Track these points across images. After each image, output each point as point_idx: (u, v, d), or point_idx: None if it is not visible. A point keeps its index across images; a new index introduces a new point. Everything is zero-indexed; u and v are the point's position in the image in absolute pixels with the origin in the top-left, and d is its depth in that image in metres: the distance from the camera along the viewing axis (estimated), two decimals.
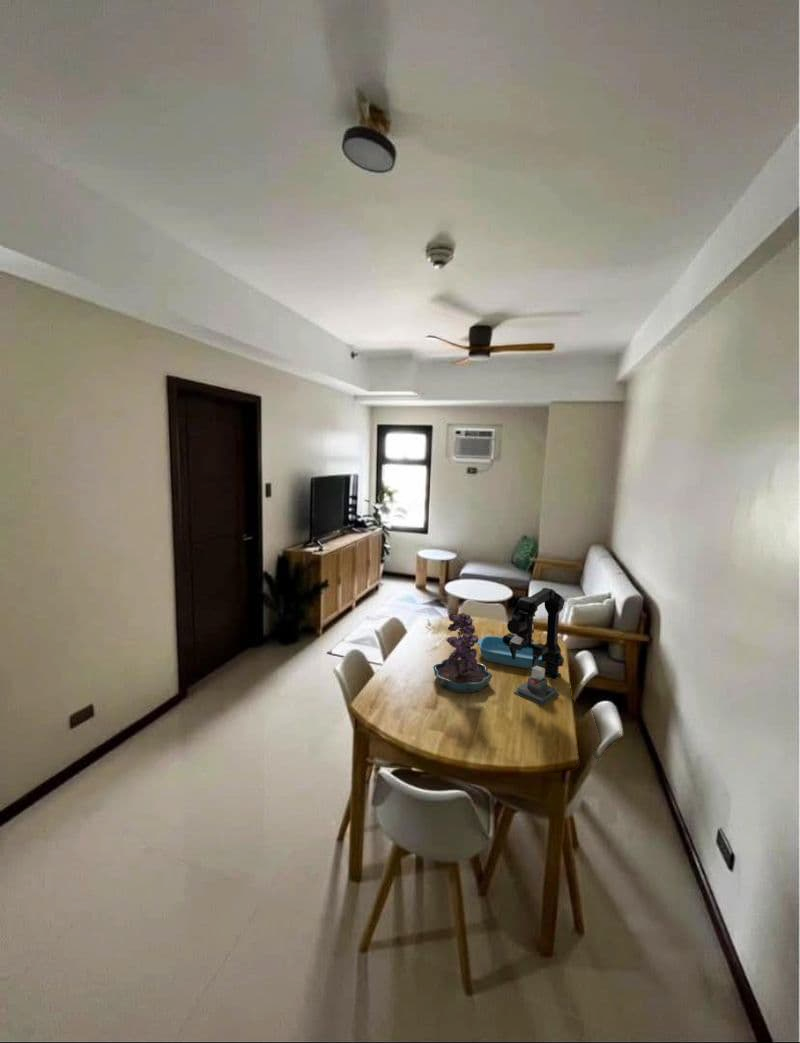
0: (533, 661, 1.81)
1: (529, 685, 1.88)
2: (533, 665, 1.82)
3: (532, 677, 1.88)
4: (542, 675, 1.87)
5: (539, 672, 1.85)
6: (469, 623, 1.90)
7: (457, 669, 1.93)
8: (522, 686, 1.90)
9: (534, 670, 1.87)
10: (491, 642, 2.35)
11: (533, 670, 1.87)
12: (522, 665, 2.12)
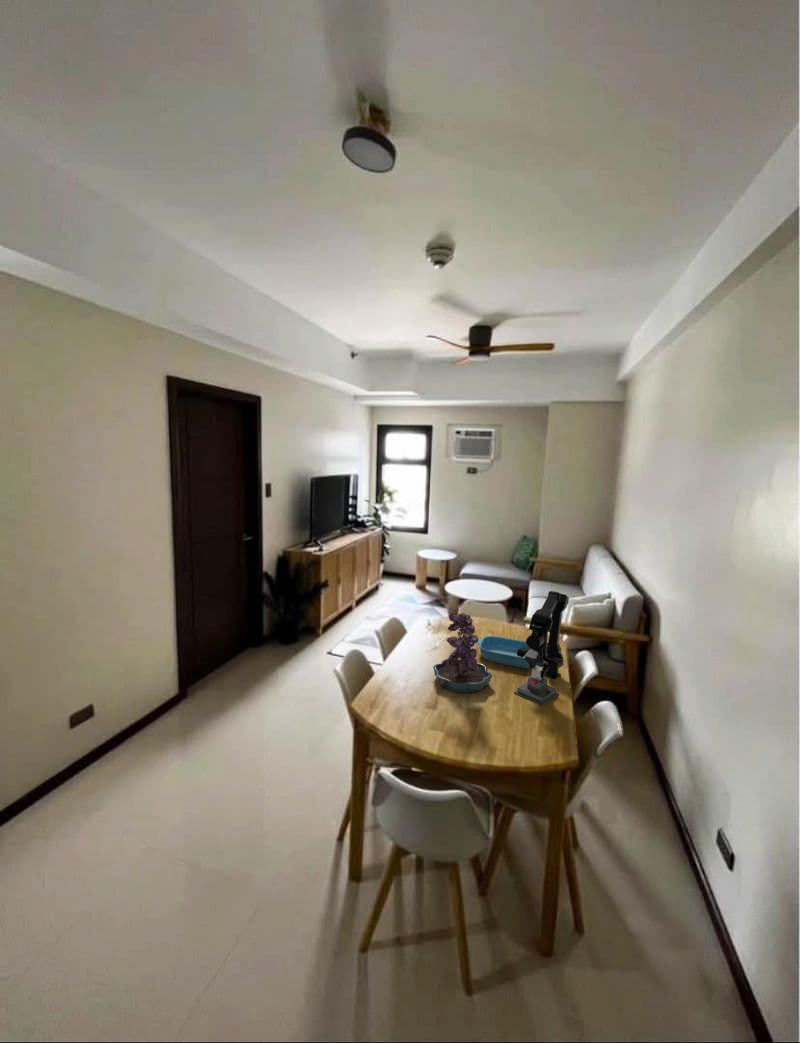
0: (542, 673, 1.85)
1: (529, 685, 1.88)
2: (542, 677, 1.86)
3: (532, 677, 1.88)
4: None
5: (539, 672, 1.85)
6: (469, 623, 1.90)
7: (457, 669, 1.93)
8: (522, 686, 1.90)
9: (534, 670, 1.87)
10: (491, 642, 2.35)
11: (533, 670, 1.87)
12: (522, 665, 2.12)
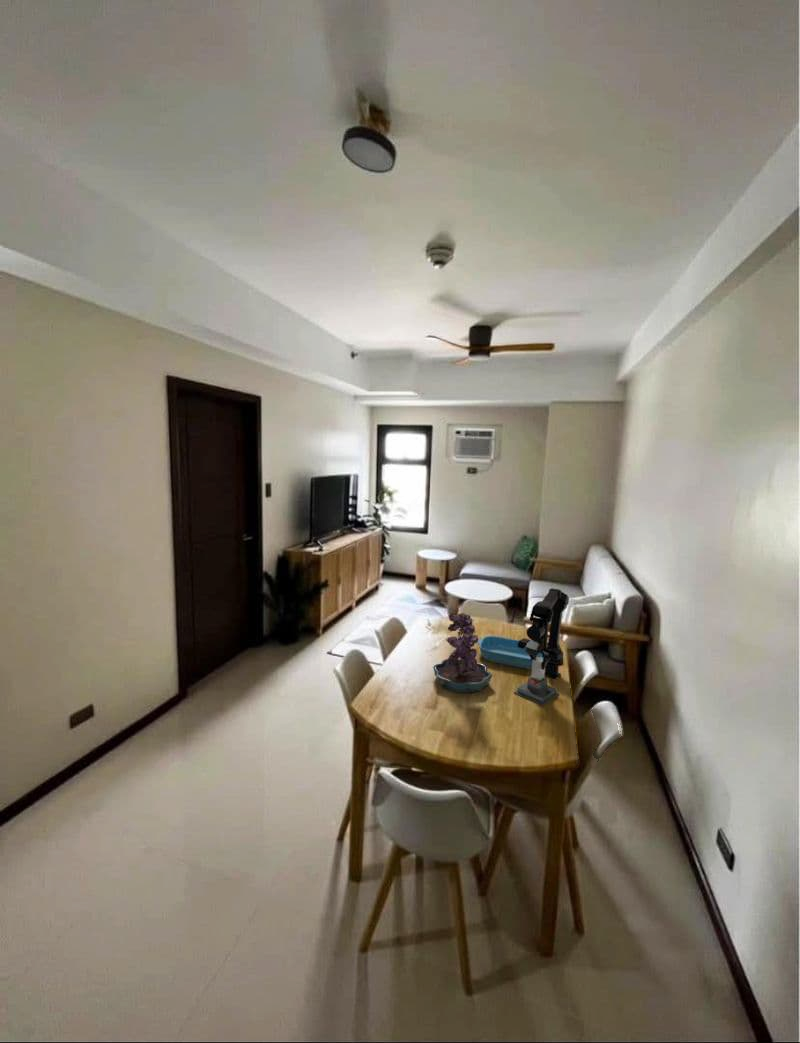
0: (543, 664, 1.85)
1: (529, 685, 1.88)
2: (543, 668, 1.85)
3: (533, 668, 1.87)
4: None
5: (540, 663, 1.85)
6: (469, 623, 1.90)
7: (457, 669, 1.93)
8: (522, 686, 1.90)
9: (535, 661, 1.86)
10: (492, 642, 2.36)
11: (534, 661, 1.87)
12: (521, 665, 2.12)
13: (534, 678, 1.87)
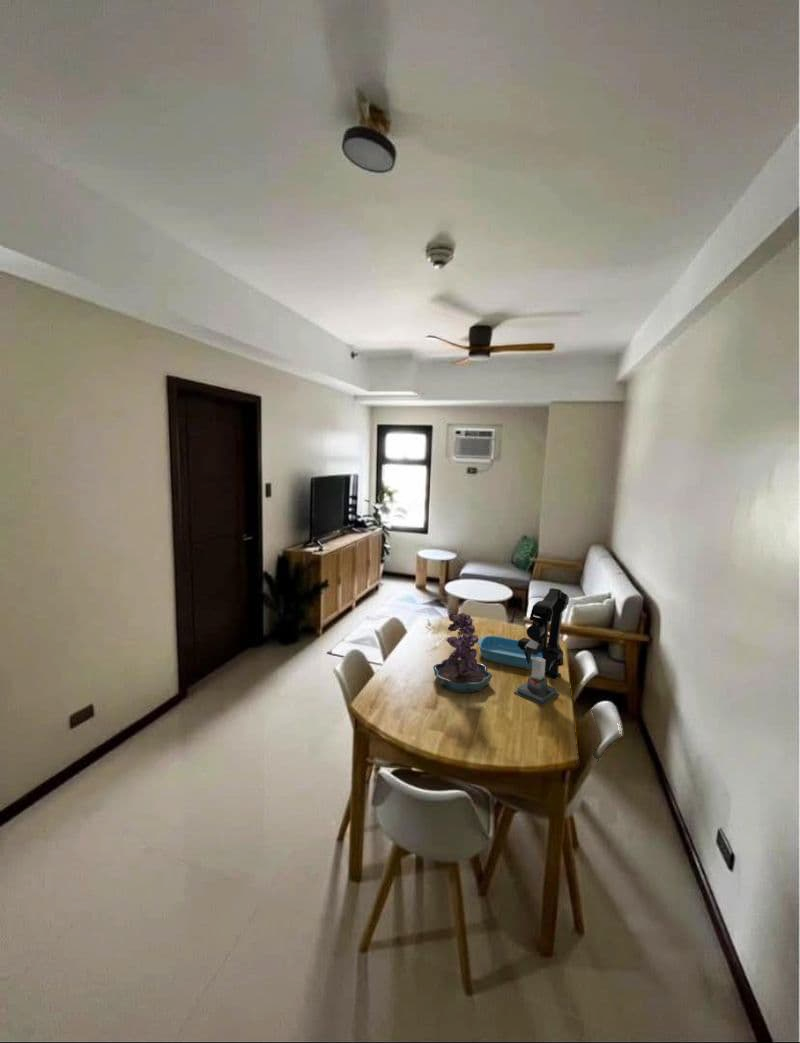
0: (548, 665, 1.83)
1: (529, 685, 1.88)
2: (548, 669, 1.84)
3: (533, 668, 1.87)
4: (543, 666, 1.86)
5: (540, 663, 1.85)
6: (469, 623, 1.90)
7: (457, 669, 1.93)
8: (522, 686, 1.90)
9: (535, 661, 1.86)
10: (492, 642, 2.36)
11: (534, 661, 1.87)
12: (521, 665, 2.12)
13: (534, 678, 1.87)
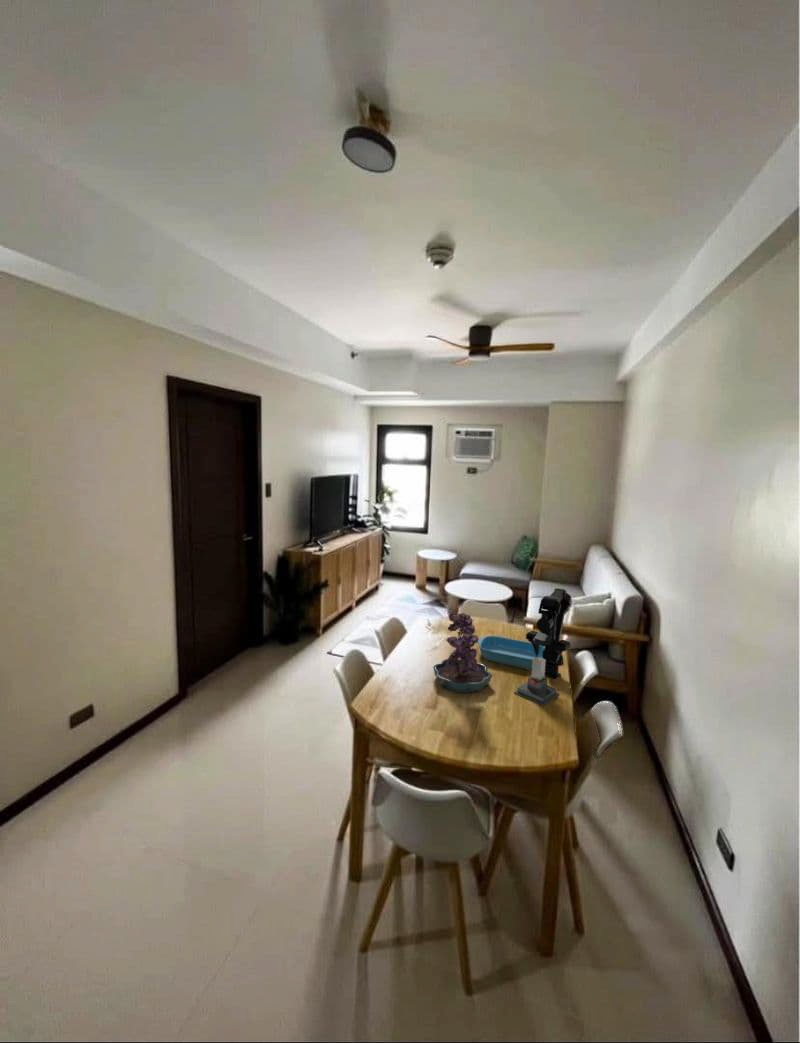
0: (556, 657, 1.90)
1: (529, 685, 1.88)
2: (556, 661, 1.90)
3: (533, 668, 1.87)
4: (543, 666, 1.86)
5: (540, 663, 1.85)
6: (469, 623, 1.90)
7: (457, 669, 1.93)
8: (522, 686, 1.90)
9: (535, 661, 1.86)
10: (492, 642, 2.36)
11: (534, 661, 1.87)
12: (521, 665, 2.12)
13: (534, 678, 1.87)
